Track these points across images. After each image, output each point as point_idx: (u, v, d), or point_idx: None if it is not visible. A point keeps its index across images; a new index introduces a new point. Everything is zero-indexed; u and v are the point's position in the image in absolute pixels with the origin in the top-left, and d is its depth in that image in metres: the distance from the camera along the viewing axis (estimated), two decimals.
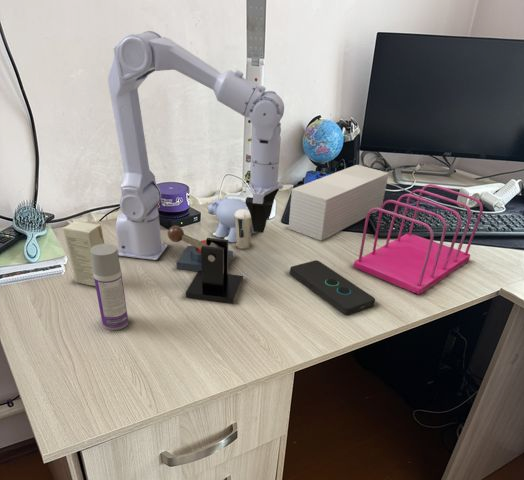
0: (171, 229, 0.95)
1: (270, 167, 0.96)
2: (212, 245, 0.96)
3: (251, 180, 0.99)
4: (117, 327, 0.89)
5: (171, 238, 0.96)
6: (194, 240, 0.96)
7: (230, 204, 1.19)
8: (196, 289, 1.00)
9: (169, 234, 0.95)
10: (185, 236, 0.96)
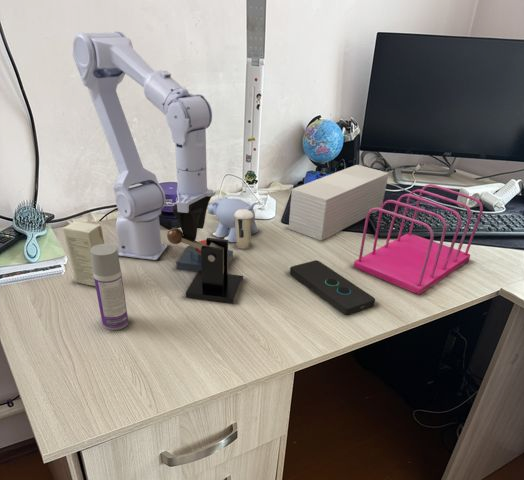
0: (170, 231, 0.95)
1: (196, 174, 0.91)
2: (212, 245, 0.96)
3: (178, 187, 0.94)
4: (117, 327, 0.89)
5: (171, 240, 0.96)
6: (193, 241, 0.96)
7: (230, 204, 1.19)
8: (196, 289, 1.00)
9: (168, 236, 0.96)
10: (184, 238, 0.96)
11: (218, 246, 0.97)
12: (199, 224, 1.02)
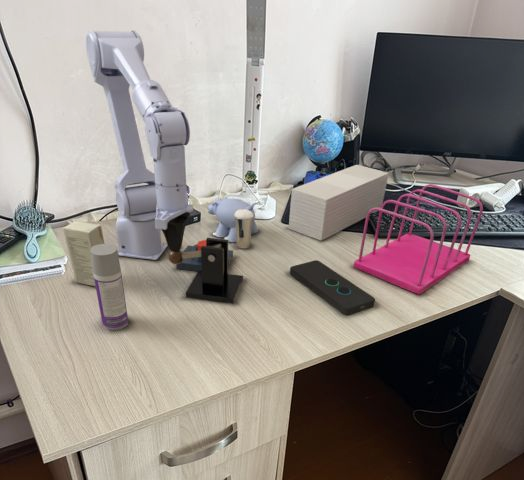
0: (169, 254, 0.98)
1: (174, 189, 0.89)
2: None
3: (157, 203, 0.92)
4: (117, 327, 0.89)
5: (173, 261, 0.99)
6: (192, 252, 0.98)
7: (230, 204, 1.19)
8: (196, 289, 1.00)
9: (169, 259, 0.99)
10: (184, 253, 0.98)
11: (215, 245, 0.97)
12: None
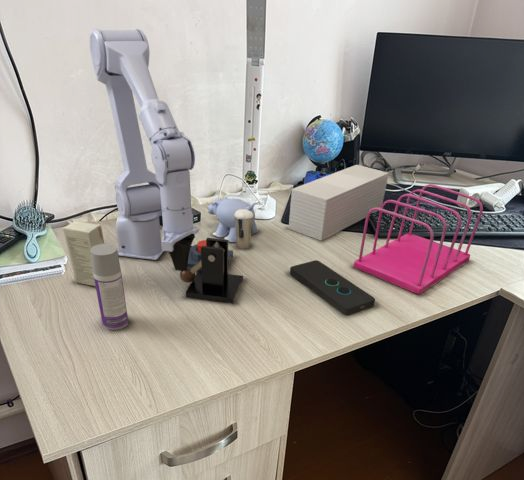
0: (180, 276, 1.01)
1: (180, 213, 0.91)
2: None
3: (163, 225, 0.94)
4: (117, 327, 0.89)
5: (186, 280, 1.01)
6: (197, 263, 0.99)
7: (230, 204, 1.19)
8: (196, 289, 1.00)
9: (182, 280, 1.01)
10: (191, 268, 1.00)
11: (212, 245, 0.97)
12: None
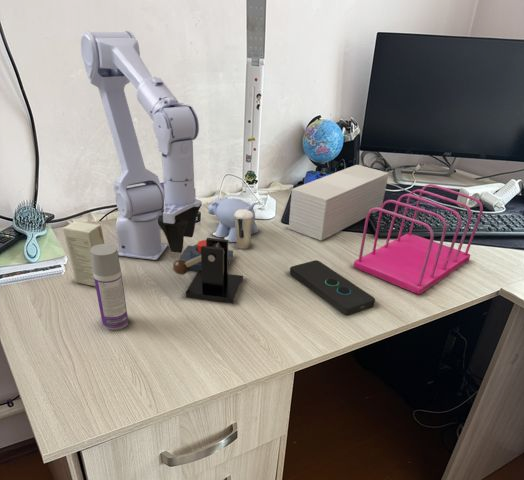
0: (173, 266, 1.00)
1: (182, 184, 0.89)
2: None
3: (165, 197, 0.93)
4: (117, 327, 0.89)
5: (179, 272, 1.00)
6: (194, 258, 0.99)
7: (230, 204, 1.19)
8: (196, 289, 1.00)
9: (175, 271, 1.00)
10: (187, 261, 1.00)
11: (213, 245, 0.97)
12: (189, 233, 1.02)
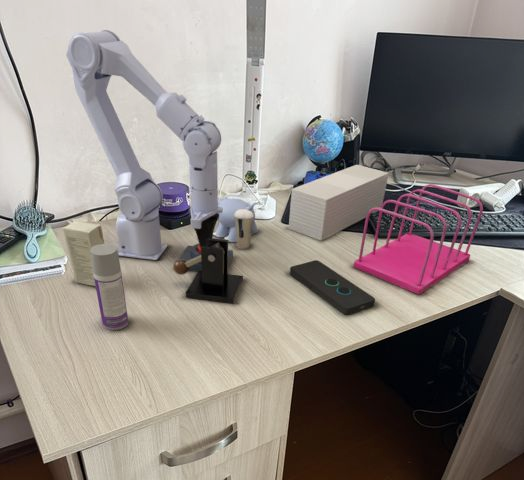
0: (173, 266, 1.00)
1: (208, 193, 0.99)
2: None
3: (191, 205, 1.02)
4: (117, 327, 0.89)
5: (179, 272, 1.00)
6: (194, 258, 0.99)
7: (230, 204, 1.19)
8: (196, 289, 1.00)
9: (175, 271, 1.00)
10: (187, 261, 1.00)
11: (213, 245, 0.97)
12: None
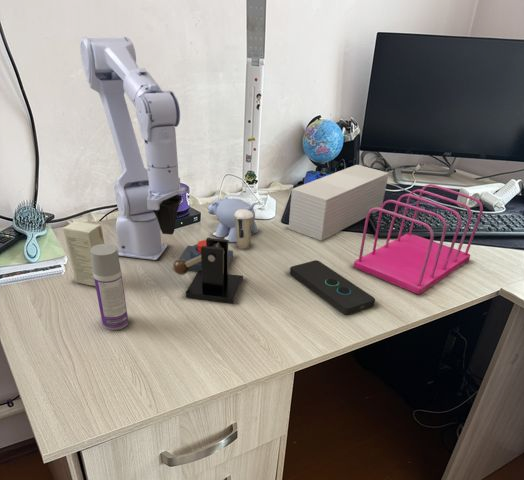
0: (173, 266, 1.00)
1: (166, 171, 0.89)
2: None
3: (149, 185, 0.92)
4: (117, 327, 0.89)
5: (179, 272, 1.00)
6: (194, 258, 0.99)
7: (230, 204, 1.19)
8: (196, 289, 1.00)
9: (175, 271, 1.00)
10: (187, 261, 1.00)
11: (213, 245, 0.97)
12: None
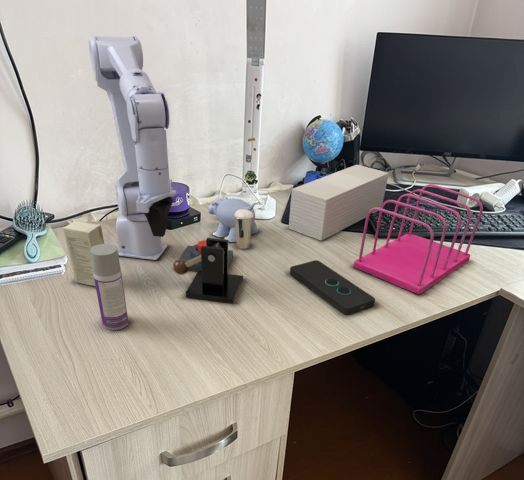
0: (173, 266, 1.00)
1: (156, 173, 0.88)
2: None
3: (139, 187, 0.91)
4: (117, 327, 0.89)
5: (179, 272, 1.00)
6: (194, 258, 0.99)
7: (230, 204, 1.19)
8: (196, 289, 1.00)
9: (175, 271, 1.00)
10: (187, 261, 1.00)
11: (213, 245, 0.97)
12: None
